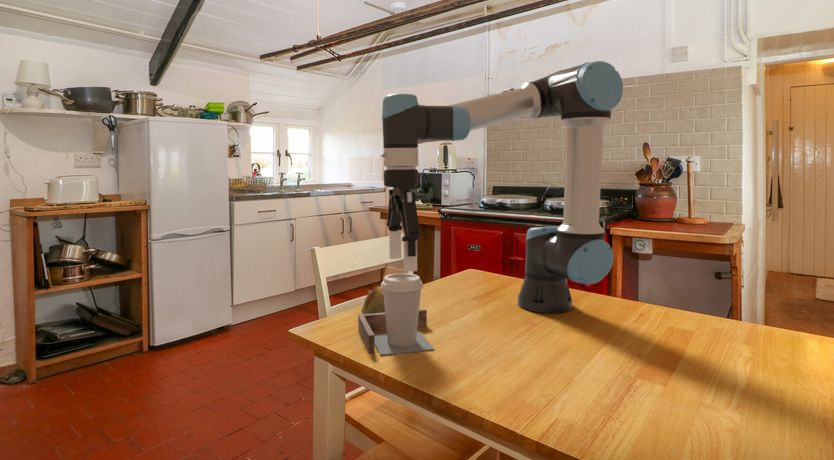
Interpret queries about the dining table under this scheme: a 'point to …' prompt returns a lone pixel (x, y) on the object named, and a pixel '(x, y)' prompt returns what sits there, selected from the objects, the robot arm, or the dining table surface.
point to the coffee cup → (401, 307)
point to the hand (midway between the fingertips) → (402, 264)
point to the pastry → (374, 301)
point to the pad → (388, 349)
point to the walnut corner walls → (379, 326)
